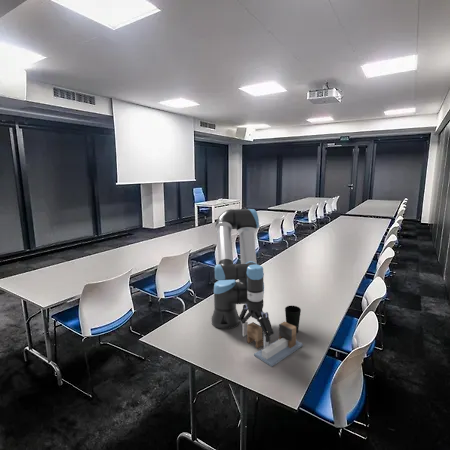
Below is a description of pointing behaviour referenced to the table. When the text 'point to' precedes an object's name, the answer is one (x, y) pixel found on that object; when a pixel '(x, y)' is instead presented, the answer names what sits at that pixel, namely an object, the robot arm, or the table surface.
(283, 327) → the fixed jaw
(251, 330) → the two-tone tabbed box
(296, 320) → the cup
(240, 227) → the robot arm
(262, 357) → the rail
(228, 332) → the table surface
